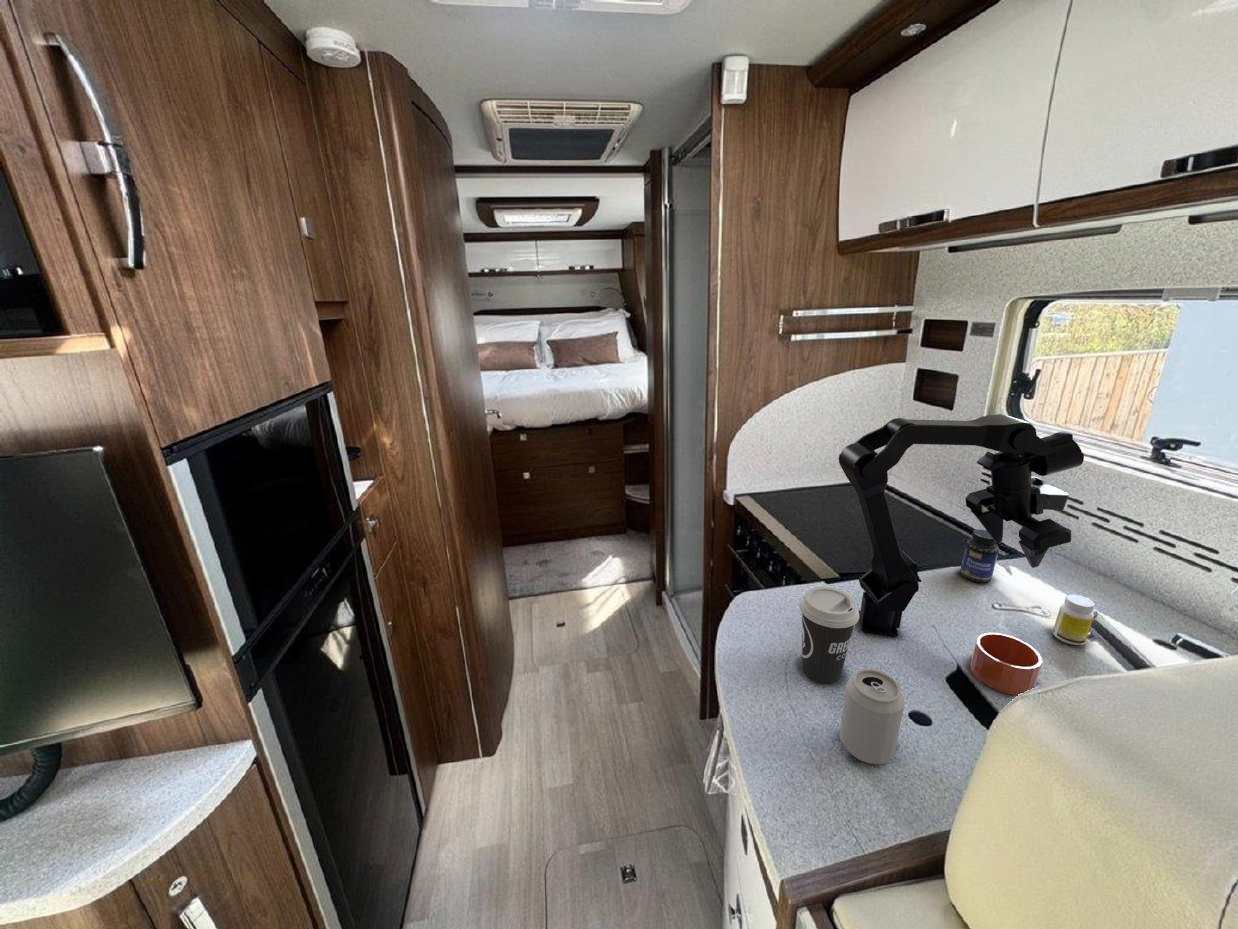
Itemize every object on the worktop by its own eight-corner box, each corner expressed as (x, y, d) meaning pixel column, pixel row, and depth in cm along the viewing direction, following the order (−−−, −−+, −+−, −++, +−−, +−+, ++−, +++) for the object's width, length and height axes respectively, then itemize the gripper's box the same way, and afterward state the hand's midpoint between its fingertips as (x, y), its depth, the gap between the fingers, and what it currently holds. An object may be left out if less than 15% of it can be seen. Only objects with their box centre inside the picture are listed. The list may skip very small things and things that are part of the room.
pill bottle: (960, 579, 115) (970, 536, 111) (958, 566, 120) (967, 525, 116) (993, 586, 112) (1004, 542, 108) (990, 572, 117) (1000, 530, 113)
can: (877, 724, 79) (888, 663, 75) (904, 767, 72) (918, 702, 67) (830, 727, 78) (838, 665, 74) (853, 770, 71) (863, 705, 67)
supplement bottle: (1091, 647, 93) (1104, 609, 90) (1061, 644, 94) (1073, 607, 91) (1074, 630, 97) (1086, 594, 94) (1046, 628, 98) (1057, 592, 95)
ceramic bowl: (981, 689, 84) (988, 663, 82) (962, 653, 92) (968, 629, 91) (1044, 699, 82) (1053, 673, 80) (1020, 662, 90) (1027, 637, 88)
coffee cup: (814, 696, 84) (823, 622, 79) (782, 658, 93) (789, 589, 88) (862, 683, 87) (874, 610, 82) (826, 647, 95) (835, 580, 90)
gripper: (1105, 489, 81) (1104, 568, 86) (1018, 452, 98) (1022, 520, 103) (1034, 509, 82) (1037, 586, 87) (960, 469, 99) (967, 535, 105)
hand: (1015, 553), depth 95 cm, fingers open, 9 cm apart
